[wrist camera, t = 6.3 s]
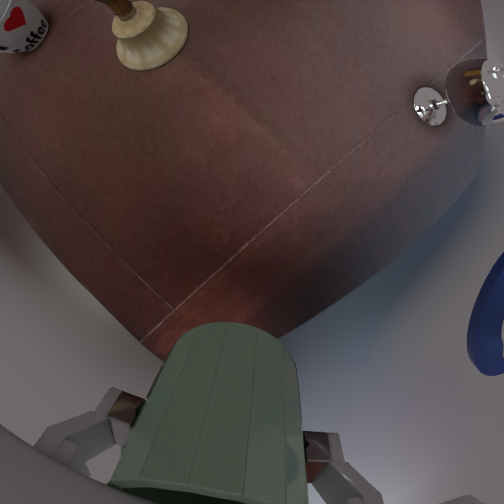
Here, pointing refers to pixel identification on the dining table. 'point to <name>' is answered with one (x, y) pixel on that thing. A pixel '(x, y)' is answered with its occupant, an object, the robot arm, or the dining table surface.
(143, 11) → the hand bell
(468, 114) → the wineglass
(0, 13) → the cup
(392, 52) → the dining table surface
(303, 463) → the sage cup
